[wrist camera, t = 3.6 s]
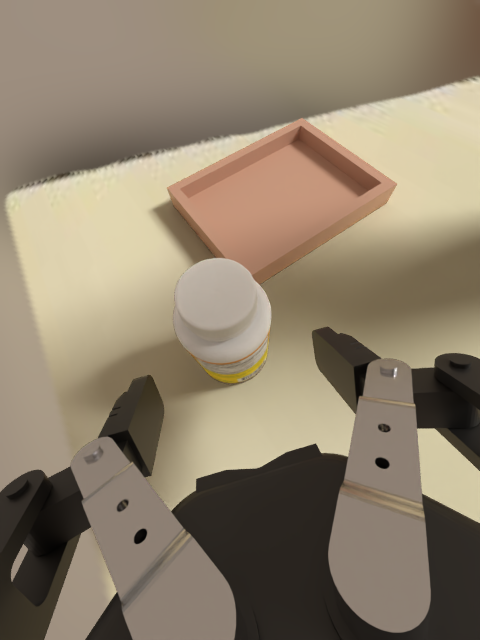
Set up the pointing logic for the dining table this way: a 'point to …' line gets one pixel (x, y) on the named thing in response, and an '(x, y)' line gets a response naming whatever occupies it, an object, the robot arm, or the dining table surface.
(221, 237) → the tray
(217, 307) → the supplement bottle
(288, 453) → the robot arm
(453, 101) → the dining table surface
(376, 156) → the dining table surface
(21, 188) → the dining table surface
